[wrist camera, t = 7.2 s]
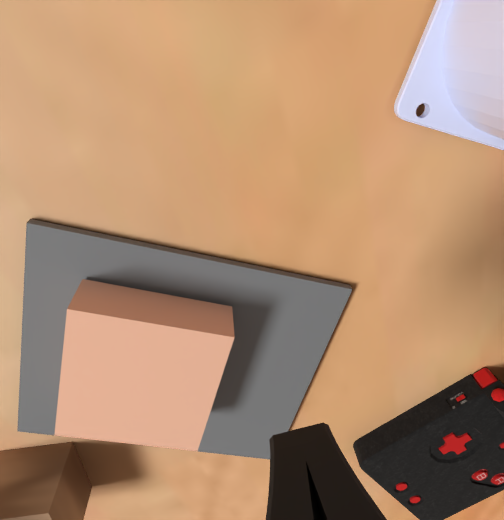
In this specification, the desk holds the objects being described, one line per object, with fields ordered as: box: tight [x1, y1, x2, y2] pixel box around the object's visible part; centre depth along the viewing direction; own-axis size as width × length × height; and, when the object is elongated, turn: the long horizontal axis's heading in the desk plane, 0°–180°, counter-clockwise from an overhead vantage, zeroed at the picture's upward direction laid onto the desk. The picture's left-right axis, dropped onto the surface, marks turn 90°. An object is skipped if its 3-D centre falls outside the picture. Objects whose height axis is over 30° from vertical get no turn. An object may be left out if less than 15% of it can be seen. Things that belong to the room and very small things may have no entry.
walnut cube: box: [0, 442, 92, 520], centre depth 23 cm, size 4×4×4 cm
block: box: [54, 279, 235, 451], centre depth 19 cm, size 2×7×6 cm
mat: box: [18, 219, 352, 459], centre depth 21 cm, size 14×12×1 cm
